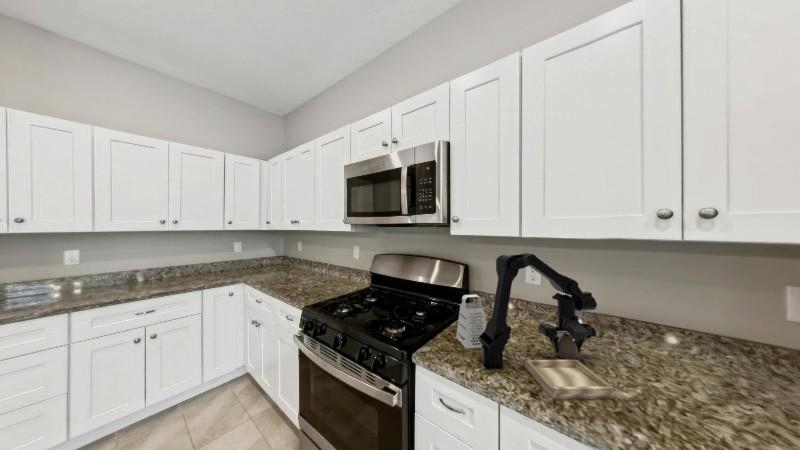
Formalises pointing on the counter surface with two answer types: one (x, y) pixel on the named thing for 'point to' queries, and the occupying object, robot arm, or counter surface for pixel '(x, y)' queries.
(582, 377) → the tray
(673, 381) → the counter surface
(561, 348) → the vase
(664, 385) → the counter surface
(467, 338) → the grater
